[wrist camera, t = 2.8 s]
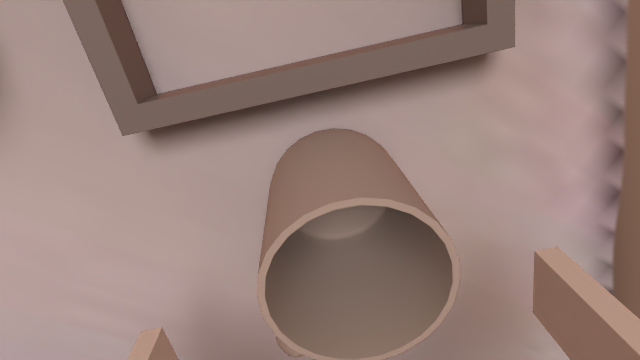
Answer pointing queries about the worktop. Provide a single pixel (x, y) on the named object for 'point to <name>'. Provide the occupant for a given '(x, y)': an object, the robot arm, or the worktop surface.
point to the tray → (274, 83)
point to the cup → (351, 253)
